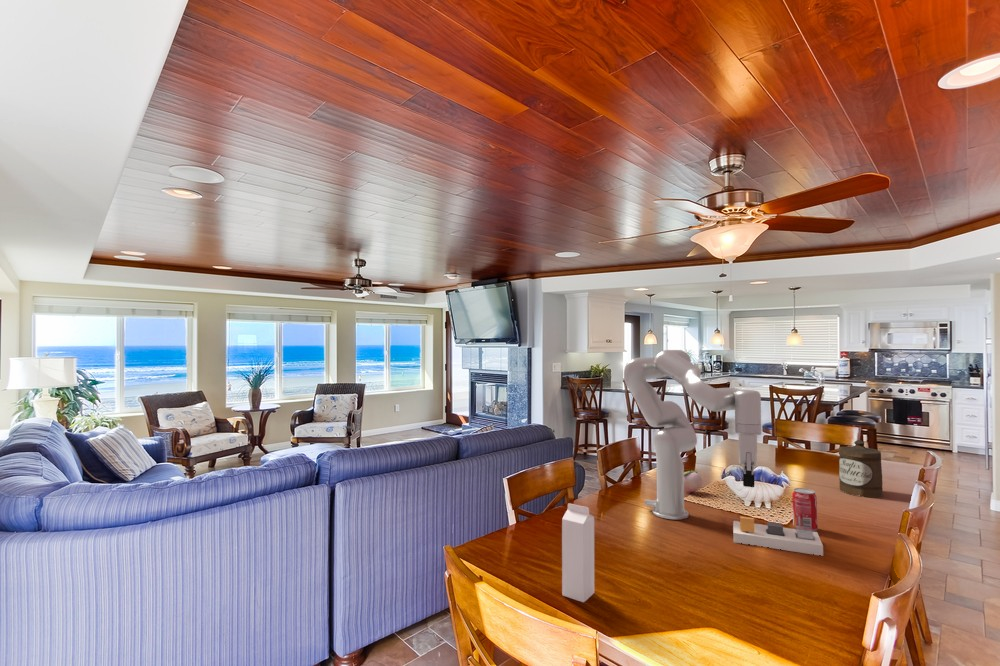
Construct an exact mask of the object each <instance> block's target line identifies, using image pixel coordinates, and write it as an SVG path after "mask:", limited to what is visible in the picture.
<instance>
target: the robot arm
mask: <svg viewBox="0 0 1000 666" xmlns="http://www.w3.org/2000/svg"><path fill="white" fill-rule="evenodd" d="M691 359H692V358H691V357H690V355H689V354H688V353H687V352H686V351H683V350H681V349H665V350H662V351H659V352H658V353H657V354H656V355H655V356H653V357H651V356H650V357H648V356H647V357H636V358H632V359H630V360H629V361H628V362H626V364H625V366H624V369H623V379H624V383H625V385H626V387H627V389H628V391H629V393H630V394H631V395H632V397H633V399H634V400H635V402H636V404H637V407H638V408H639V410H640V412H641V414H642V416H643V418H644V419H645V421H646V423H647V424H648V425H649V426H650V427H652V428H661V429H659V430H658V431H657V432H656V433H655V434H654V437H653V446H654V450H655V460H656V499H653V500H652V499H648V498H647V499H646V498H645V499H644V505H645V506H647V507H652V513H653V514H654V516H657V517H659V518H661V519H667V520H674V521H675V520H676V521H677V520H684V519H687V518H688V517H690V514H689V511H688V510H686V509H685V489H684V472H685V467H684V462H683V459H682V456H681V453H685V452H689V451H692V450H693V449H694V448H695V447H696V446H697V443H698V442H697V441H698V438H697V434H696V432H695V429H694V428H693V426H692V424H691V422H690V421H689V418H688V417H687V416H686V414H685V412H684V410H683V408H682V407H680V405H679V404H678V403H676V402H674V401H673V400H671V401H670V400H661V398H660V397H659V395H658V393H657V391H656V389H655V388H654V387H653V386H652V385H651V383H649V382H648V381H647V380H651V379H662V378H666V377H669V378H671V379H672V380H674V381H675V382H676V383H678V384H679V385H681V386H682V387H684V389H685V392H686V393H687V394H688V396H689V397H690V398H691V399H692V400H693V401H695V402H696V403H697V404H699V405H700V406H702V407H703V408H705V409H706V410H708V411H710V412H716V413H717V412H718V413H719V412H725V411H726V412H727V411H734V433H735V434H738V439H737V440H738V443H737V445H738V446H737V447H738V448H737V449H738V465H740V466H742V465H743V472H742V485H743V487H745V488H755V473H754V468H755V467H756V466H757V455H758V454H757V453H758V436H759V435H762V397H761V393H760V391H758V390H754V389H738V388H735V387H734V388H733V387H719V388H718V387H717V388H715V387H713V386H711V385H710V384H708V383H706V382H705V381H704V380H702V379H701V376H702V371H701V369H700V368H699V367H698V366H697V365H695V364H694V363H692V360H691ZM663 427H664V428H663Z"/></svg>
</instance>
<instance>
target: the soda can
mask: <svg viewBox="0 0 1000 666" xmlns="http://www.w3.org/2000/svg"><path fill="white" fill-rule="evenodd" d="M792 525H793V527H794V529H796V525H798V526H805V527H811V528H812V530H813V532H817V530H819V529H818V527H819V525H818V497H817V495H816V492H815V490H813V489H809V488H804V487H798V488H797V487H796V488H794V489H793V492H792Z"/></svg>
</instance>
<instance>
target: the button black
mask: <svg viewBox="0 0 1000 666" xmlns="http://www.w3.org/2000/svg"><path fill="white" fill-rule="evenodd" d="M767 525H768V534H772V535H779V536H783V528H784V526H783V523H781V522H776V521H775V522H774V521H767Z"/></svg>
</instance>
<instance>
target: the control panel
mask: <svg viewBox="0 0 1000 666" xmlns="http://www.w3.org/2000/svg"><path fill="white" fill-rule="evenodd" d="M732 523H733V524H732V525H733V527H732V530H733V531H732V532H733V533H732V534H733V537H732V538H733V540H732V541H733V543H735V544H741V543H742V544H743V545H748V544H750V546H754V545H757V546H756V547H761V546H763V548H767V547H769V549H775V550H780V549H781V550H783V551H789V552H794V553H795V552H796V553H801V554H807V555H813V554H814V556H819V555H821V556H822V557H824V545H823V542H822V540H821V537H820V536H819V533H818V532H817V531H815V532H813V540H806V539H799V538H797V537H796V528H790V527H789V528H788V527H783V536H779V535H772V534H768V524H762V523H754V532H749V533H745V531H741V530H740V520H739V521H738V520H733V521H732Z"/></svg>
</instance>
